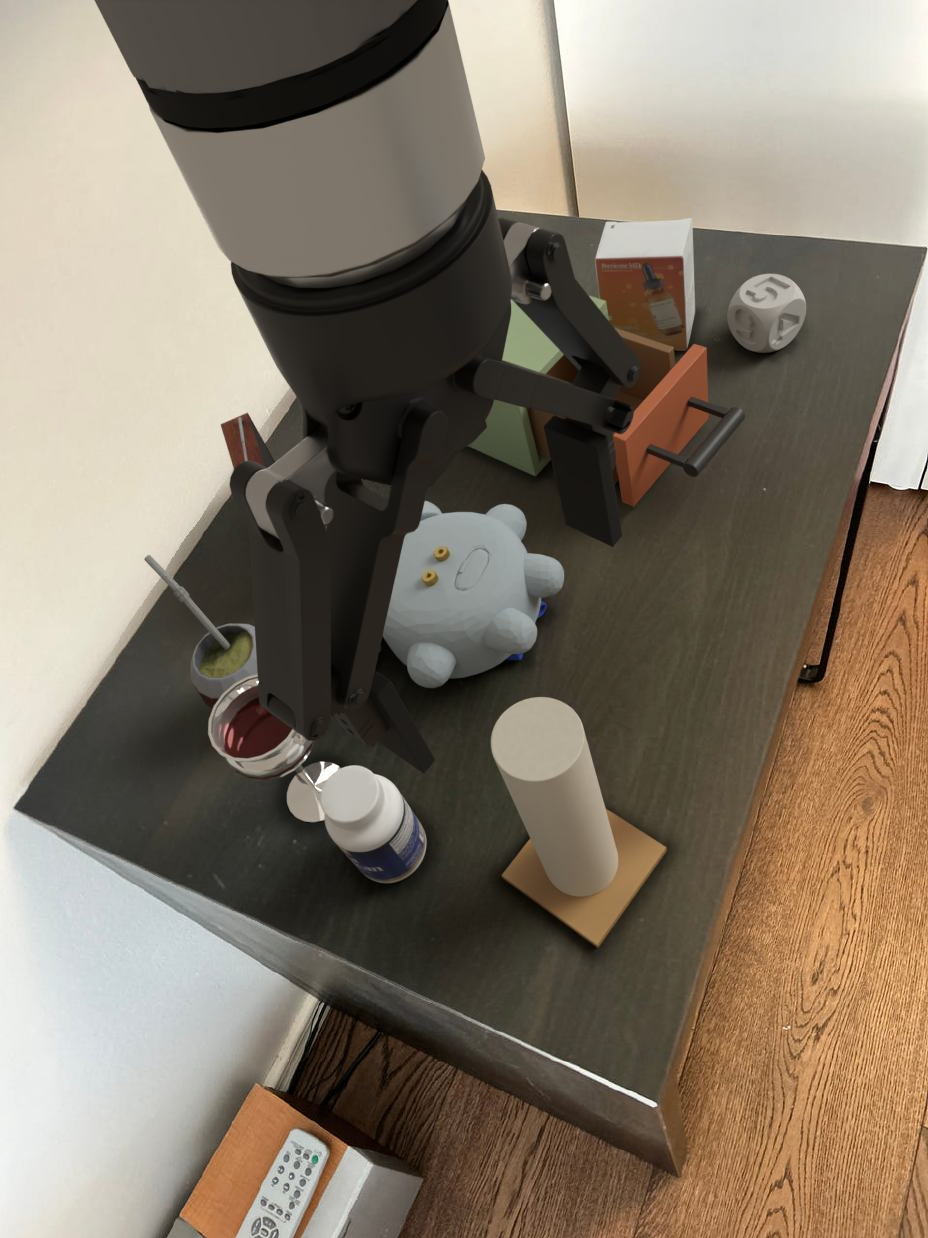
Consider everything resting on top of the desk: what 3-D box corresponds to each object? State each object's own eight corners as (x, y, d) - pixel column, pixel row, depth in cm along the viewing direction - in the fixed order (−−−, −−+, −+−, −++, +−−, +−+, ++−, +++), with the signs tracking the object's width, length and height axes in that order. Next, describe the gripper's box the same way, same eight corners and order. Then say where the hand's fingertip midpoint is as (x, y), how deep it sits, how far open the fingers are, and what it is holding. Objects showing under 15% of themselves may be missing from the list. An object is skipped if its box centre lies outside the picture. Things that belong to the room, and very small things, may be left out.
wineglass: (350, 739, 76) (294, 658, 66) (368, 814, 72) (311, 740, 62) (269, 769, 76) (201, 693, 66) (283, 846, 72) (213, 777, 62)
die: (805, 331, 89) (809, 286, 85) (767, 361, 88) (768, 317, 84) (764, 310, 92) (765, 265, 88) (726, 338, 91) (725, 294, 87)
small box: (604, 351, 94) (591, 258, 86) (615, 313, 97) (603, 219, 88) (688, 351, 91) (683, 256, 83) (696, 312, 94) (692, 215, 86)
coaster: (667, 850, 65) (666, 847, 65) (597, 948, 63) (596, 945, 62) (571, 789, 69) (570, 785, 69) (502, 878, 67) (501, 875, 66)
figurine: (602, 556, 80) (403, 524, 90) (578, 484, 73) (367, 459, 83) (517, 734, 72) (311, 678, 82) (482, 673, 66) (263, 619, 76)
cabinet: (617, 386, 91) (606, 300, 83) (535, 476, 87) (515, 395, 79) (497, 341, 99) (476, 259, 91) (416, 423, 94) (387, 344, 87)
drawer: (759, 436, 82) (761, 365, 76) (684, 529, 79) (679, 462, 72) (583, 371, 92) (572, 303, 85) (508, 452, 88) (490, 387, 82)
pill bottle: (344, 873, 70) (294, 819, 62) (374, 805, 72) (330, 746, 64) (410, 895, 67) (368, 842, 60) (439, 825, 70) (402, 765, 62)
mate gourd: (293, 743, 77) (211, 640, 65) (204, 739, 79) (109, 639, 67) (315, 662, 81) (242, 552, 69) (230, 661, 83) (145, 553, 71)
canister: (633, 851, 65) (603, 725, 51) (589, 912, 63) (545, 799, 49) (573, 812, 68) (528, 681, 53) (529, 869, 66) (471, 750, 52)
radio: (253, 486, 95) (182, 369, 83) (282, 474, 95) (215, 355, 83) (297, 625, 84) (222, 513, 72) (329, 611, 84) (260, 496, 72)
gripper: (523, -35, 32) (598, 425, 49) (-84, 464, 24) (256, 808, 41) (723, -15, 28) (730, 477, 45) (81, 587, 20) (381, 911, 37)
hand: (505, 635), depth 43 cm, fingers open, 13 cm apart
